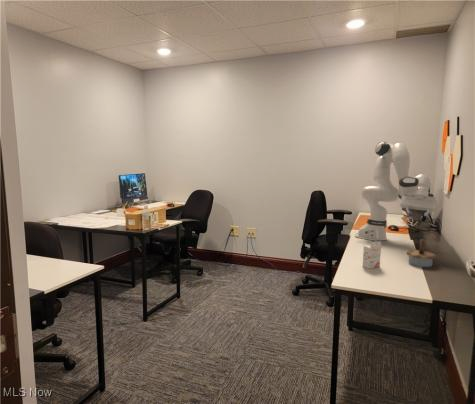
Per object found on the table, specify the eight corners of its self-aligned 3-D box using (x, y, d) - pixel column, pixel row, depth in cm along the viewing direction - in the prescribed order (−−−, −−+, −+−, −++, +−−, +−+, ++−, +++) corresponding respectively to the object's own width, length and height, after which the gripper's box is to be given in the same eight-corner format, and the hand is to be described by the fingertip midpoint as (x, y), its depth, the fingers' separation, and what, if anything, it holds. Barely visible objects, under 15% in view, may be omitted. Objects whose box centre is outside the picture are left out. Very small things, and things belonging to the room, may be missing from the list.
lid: (406, 256, 194) (407, 240, 193) (407, 250, 207) (408, 235, 206) (436, 260, 187) (438, 244, 186) (435, 254, 200) (437, 239, 199)
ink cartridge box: (372, 264, 194) (374, 239, 192) (379, 266, 190) (382, 241, 188) (361, 266, 190) (363, 240, 188) (368, 268, 186) (371, 242, 184)
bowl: (408, 264, 196) (409, 256, 195) (409, 259, 206) (410, 251, 205) (432, 268, 190) (433, 259, 189) (432, 262, 200) (432, 254, 199)
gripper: (402, 191, 219) (398, 209, 213) (438, 195, 209) (435, 213, 202) (402, 197, 224) (398, 214, 217) (437, 201, 213) (435, 219, 207)
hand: (416, 214), depth 210 cm, fingers open, 8 cm apart
